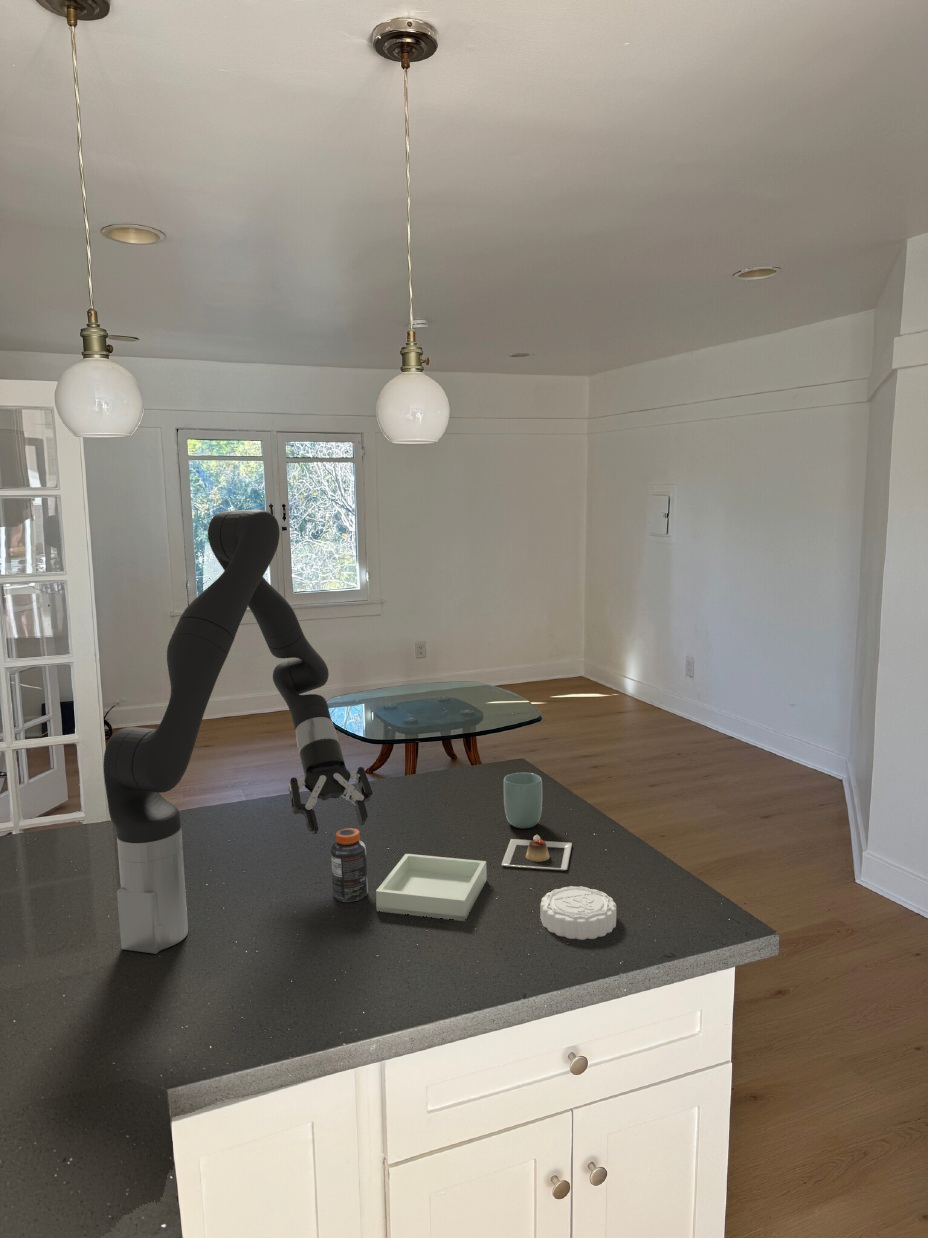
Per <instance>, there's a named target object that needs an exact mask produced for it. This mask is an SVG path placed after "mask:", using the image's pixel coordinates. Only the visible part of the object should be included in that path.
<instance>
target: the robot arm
mask: <svg viewBox="0 0 928 1238" xmlns="http://www.w3.org/2000/svg"><path fill="white" fill-rule="evenodd" d="M208 524H209V525H208V527H207V539H208V540H207V541H208V545H209V547H210V549H211V551H212V553H213V555H214V557H215V558H216V560H217V562H218V564H220V566H221V567H222V569H223V570H224V571H223V572H222V573H221V574H220V575H219V577H218V578H216V580H214V581H213V582H212V583H210V585H209V586H208V587H207V588H205V589H204V590H203V591H202V592H201V593H200V594H199V595H197V597H195V598H194V599H193V600H192V601H191V602H190V603H189V605H188V606H187V607H186V608H185V609H184V611H182V614H181V615H180V617H179V619H178V622H177V624H176V626H175V628H174V630H173V633H172V634H171V637H170V639H169V642H168V645H167V648H166V649H167V650H166V665H167V671H168V676H169V683H170V697H169V701H168V704H167V707H166V710H165V712H164V713H163V714H164V715H163V717H162V719H161V721H160V724H159V725H158V727H157V729H156V728H146V727H136V726H129V727H128V726H127V727H123V728H121V729H119V730H117V731H115V732H114V734H112V736H111V737H110V739H109V741H107V745H106V746H105V750H104V754H103V778H104V779H103V780H104V787H105V791H106V799H107V800H106V801H107V805H108V806H107V807H108V813H109V817H110V820H111V822H112V823H113V825H114V827H115V830H116V831H115V833H116V842H117V854H118V855H117V857H118V867H119V869H118V870H119V878H120V879H119V881H120V888H119V889H117V891H116V893H117V894H116V895H117V896H116V897H117V907H118V918H119V919H118V921H119V922H118V923H119V933H120V946H121V950H126V951H131V952H132V951H134V952H142V953H147V954H148V953H149V954H158V953H159V952H160V951H162V950H164V949H168V948H170V947H173V946H175V945H176V944H179V943H180V942H182V941H184V939H185V938H186V936H187V935H188V933H189V925H188V911H187V910H188V908H187V898H186V897H187V895H186V894H187V893H186V883H185V882H186V879H185V866H184V853H183V852H184V851H183V836H182V834H183V833H182V822H181V813H180V810H179V809H178V807H176V806H175V805H174V804H173V803H171V802H170V801H168V800H166V798H165V797H164V796H163V795H161V794H162V793H167V792H169V791H171V790H172V789H174V788H175V787H176V786H177V785H178V784H180V781H181V780H182V779H183V776H184V774H185V773H186V771H187V769H188V766H189V765H190V764H189V763H190V760H191V759H192V758H191V757H192V755H193V752H194V748H195V745H196V741H197V739H198V735H199V731H200V728H201V724H202V722H203V718H204V715H205V711H206V709H207V706H208V703H209V700H210V699H211V696H212V693H213V691H214V687H215V685H216V683H217V680H218V677H219V675H220V673H221V670H222V669H223V666H224V664H225V662H226V660H227V658H228V656H229V653H230V651H231V648H232V646H233V643H234V641H235V638H236V635H237V632H238V630H239V627H240V624H241V623H242V620H243V618H244V615H245V613H246V611H247V609H248V608H249V610H250V611H251V613H252V615H253V617H254V618H255V621H256V623H257V625H258V627H259V629H260V631H261V633H262V635H263V639H264V641H265V642H266V645H267V648H268V650H269V651H270V653H271V655H272V656H273V657H275V658H276V659H289V660H286V661H283V662H280V663H278V664H277V665H276V666H275V667H274V669H273V672H272V680H273V684H274V686H275V687H276V690H277V691H278V692H279V694H280V695H281V697H282V698H283V700H284V702H285V703H286V705H287V707H288V709H289V712H290V715H291V718H292V719H291V720H292V722H293V727H294V730H295V737H296V738H295V739H296V745H297V751H298V754H299V759H300V763H301V766H302V770H303V774H304V778H301V779H298V778H297V777H291V778H290V780H289V784H288V791H289V797H290V804H291V805H290V806H291V809H292V810H291V811H292V813H293V814H294V815H298V814H299V815H301V814H302V815H303V816H304V819H305V823H306V827H307V828H306V829H307V830H308V831H309V832H311V833H312V835H316V834H318V832H319V825H318V820H317V816H316V812H315V809H313V808H314V807H315V806H316V803H317V801H318V799H319V800H322V801H328V800H329V799H339V798H340V797H342V798H343V799H345V800H346V801H349V802H350V803H352V804H353V805H354V810H355V814H356V818H357V820H358V825H359V826H360V827H361V826H364V825H365V823H366V822H367V820H368V815H369V814H368V812H367V807H366V804H365V803H368V802H370V800H371V798H372V795H373V790H372V787H371V784H370V782H369V779H368V776H367V773H366V771H365V768H364V767H363V766H359V767H358V768H357V769H356V770H351V771H349V770H348V768H347V767H346V763H345V759H344V756H343V753H342V752H343V751H342V747H341V745H340V741H339V737H338V734H337V730H336V728H335V726H334V723H333V721H332V717H331V713H330V710H329V705H328V703H327V700H326V699H325V697H324V696H322V695H321V694H315V693H311V694H310V693H309V694H305V693H308V692H310V691H314V690H316V689H320V688H322V687H323V686H326V684H327V682H328V679H329V669H328V665H327V664H326V662H325V660H324V659H323V658H322V656H320V654H319V653H318V652H317V651H316V650H315V648H314V647H313V646H312V645H311V643H310V642H309V641H308V639H307V638H306V636H305V633H304V632H303V630H302V628H301V624H300V622H299V619H298V618H297V615H296V613H295V611H294V609H293V607H292V606H291V604H290V603H289V602H288V601H287V600H286V599H285V597H284V596H283V595H282V594H281V593H280V592H279V591H278V590H277V589H276V588H275V587H274V586H272V585H271V584H270V583H269V582H268V580H266V579H265V577H264V576H265V573H266V572H267V569H269V567H270V564H271V563H272V561H273V559H274V557H275V555H276V552H277V549H278V546H279V541H280V535H281V533H280V524H279V522H278V520H277V517H275V515H274V514H272V513H271V512H269V511H267V510H262V509H241V510H225V511H220V512H217V513H216V514H215V515H214V516H213V517H212V518H211V520H210V522H209V523H208ZM350 779H351V780H353V782H354V783H356V784H357V785H358V788H359V790H360V792H359V791H358V790H357V789H356V787H355V786H354V785H353V784H352V783H350V782H349V781H350ZM303 787H304V788H305V789H307V791H309V792H310V793H311V794H310V796H309V798H308V800H307V802H306V803H302V801H301V794H300V792H301V791H302V790H303Z"/></svg>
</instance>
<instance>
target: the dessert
mask: <svg viewBox="0 0 928 1238" xmlns="http://www.w3.org/2000/svg"><path fill="white" fill-rule="evenodd" d="M532 838H533V840H531V839H518V838H517V839H515V838H510V841H509V842H508V845H507V849H506V851H505V854H504V856H503V859H502V861H501V866H503V867H505V868H506V867H507V868H510V867H511V868H521V869H522V868H523V869H533V870H534V869H536V870H538V869H539V870H551V871H552V870H553V871H566V870H567V871H568V868H569V861H570V857H571V851H572V845H573V842H564V841H562V842H561V841H547V840H543V839H541V836H539V835H538V834H536V835H534V836H533V837H532ZM517 846H528V847H527V850H526V854H525V858H526V860H528V861H530V862H545V861H548V860H549V859H550V853H549V849H548V848H560V849H561V848H562V849H563V848H564V851H563V856H562V862H561V866H560V867H546V866H545V867H544V866H536V865H535V866H533V865H519V864H510V863H511V861H512V859H513V855H514V853H515V849H516V847H517Z"/></svg>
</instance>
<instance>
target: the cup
mask: <svg viewBox="0 0 928 1238" xmlns="http://www.w3.org/2000/svg"><path fill="white" fill-rule="evenodd" d="M503 807H504V813H505V817H506V819H507V822H508V823H509V824H510V825H511V826H513V827H514V828H518V829H529V828H533V827H535V826H536V825H538V823H539V822H540V819H541V817H542V816H541V815H542V812H543V811H542V810H543V780H542V777H541V776H540V775H538V774H536V773H532V772H524V771H523V772H515V773H510V774H507V775H505V776H504V778H503Z"/></svg>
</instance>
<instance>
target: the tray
mask: <svg viewBox="0 0 928 1238" xmlns="http://www.w3.org/2000/svg"><path fill="white" fill-rule="evenodd" d="M487 874H488V873H487V860H475V859H467V858H466V859H465V858H454V857H442V856H435V855H424V854H423V855H422V854H413V853H405V854H404V855H403V856H402V857H401V859H400V860H399V862H397V864H396V865H395V866H394V868H393V869H392V870H391V871H390V872H389V874H388V875H387V876H386V877H385V879H384V880H383V882H382V883H380V885H379V887H378V888H377V889H376V890H375V902H376V904H375V906H376V912H379V911H380V912H381V913H389V914H390V913H391V914H398V915H405V914H406V915H407V914H409V915H408V916H415V917H423V916H424V917H425V918H431V917H432V919H433V918H434V919H440V918H443V919H442V920H449V919H454V920H453V921H459V922H466V920H467V918H468V916H469V914H470V913H471V910H472V909H473V907H474V905H475V903H476V901H477V899H478V898H479V895H480V894H481V892H482V890H483V887H484V886H485V884H486V882H487V878H488V877H487ZM469 912H470V913H469ZM426 916H427V917H426ZM465 919H466V920H465Z"/></svg>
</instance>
